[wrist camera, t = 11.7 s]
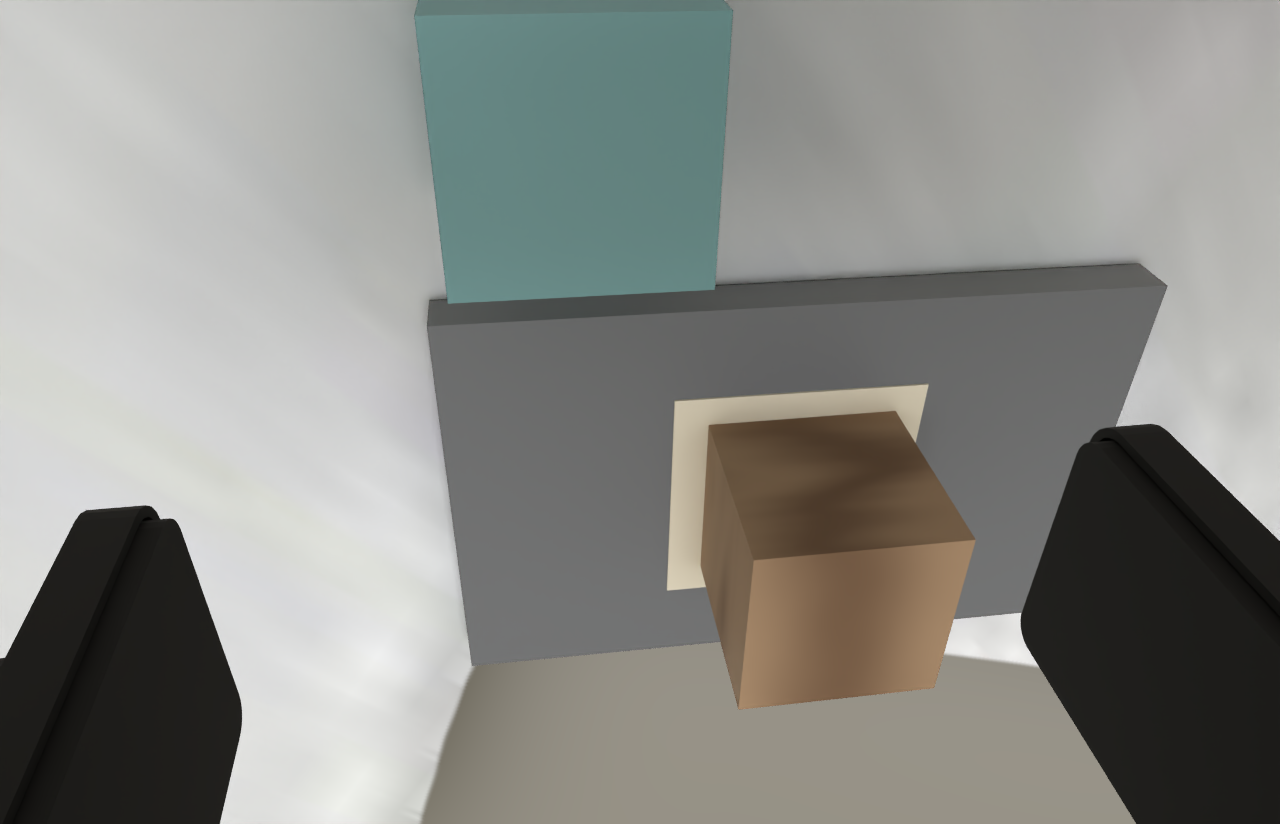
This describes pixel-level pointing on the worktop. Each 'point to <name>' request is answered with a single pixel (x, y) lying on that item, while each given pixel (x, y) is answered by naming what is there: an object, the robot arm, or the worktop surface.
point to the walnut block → (829, 558)
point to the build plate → (746, 392)
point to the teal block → (575, 144)
